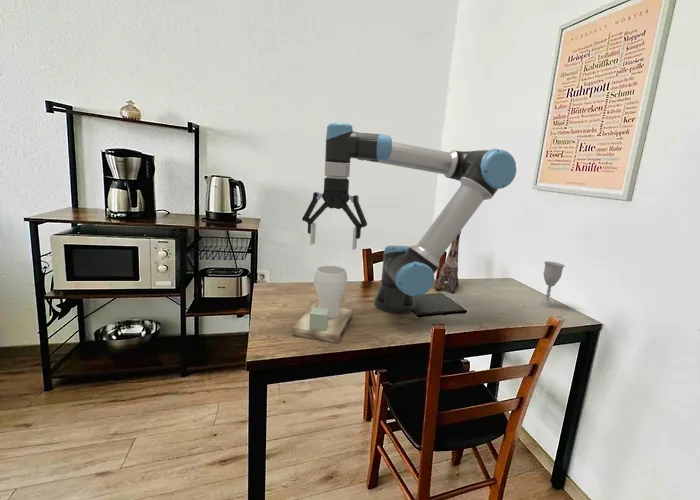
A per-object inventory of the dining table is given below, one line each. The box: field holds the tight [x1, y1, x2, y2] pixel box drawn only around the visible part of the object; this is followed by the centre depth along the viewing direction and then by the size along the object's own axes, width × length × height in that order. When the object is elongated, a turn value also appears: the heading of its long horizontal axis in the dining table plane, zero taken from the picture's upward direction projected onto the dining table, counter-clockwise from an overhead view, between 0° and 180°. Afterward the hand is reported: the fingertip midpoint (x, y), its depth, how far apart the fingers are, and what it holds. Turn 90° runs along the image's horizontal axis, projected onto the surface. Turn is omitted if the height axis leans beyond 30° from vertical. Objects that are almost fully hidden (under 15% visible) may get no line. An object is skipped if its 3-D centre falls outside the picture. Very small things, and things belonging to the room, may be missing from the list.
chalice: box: [538, 260, 566, 309], centre depth 144 cm, size 7×7×18 cm
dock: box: [292, 303, 354, 344], centre depth 113 cm, size 14×20×2 cm
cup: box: [313, 265, 348, 318], centre depth 115 cm, size 11×11×15 cm
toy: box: [434, 230, 462, 294], centre depth 157 cm, size 9×26×30 cm, turn 156°
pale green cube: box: [309, 307, 329, 331], centre depth 106 cm, size 5×5×5 cm
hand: (333, 246), depth 112 cm, fingers open, 13 cm apart
